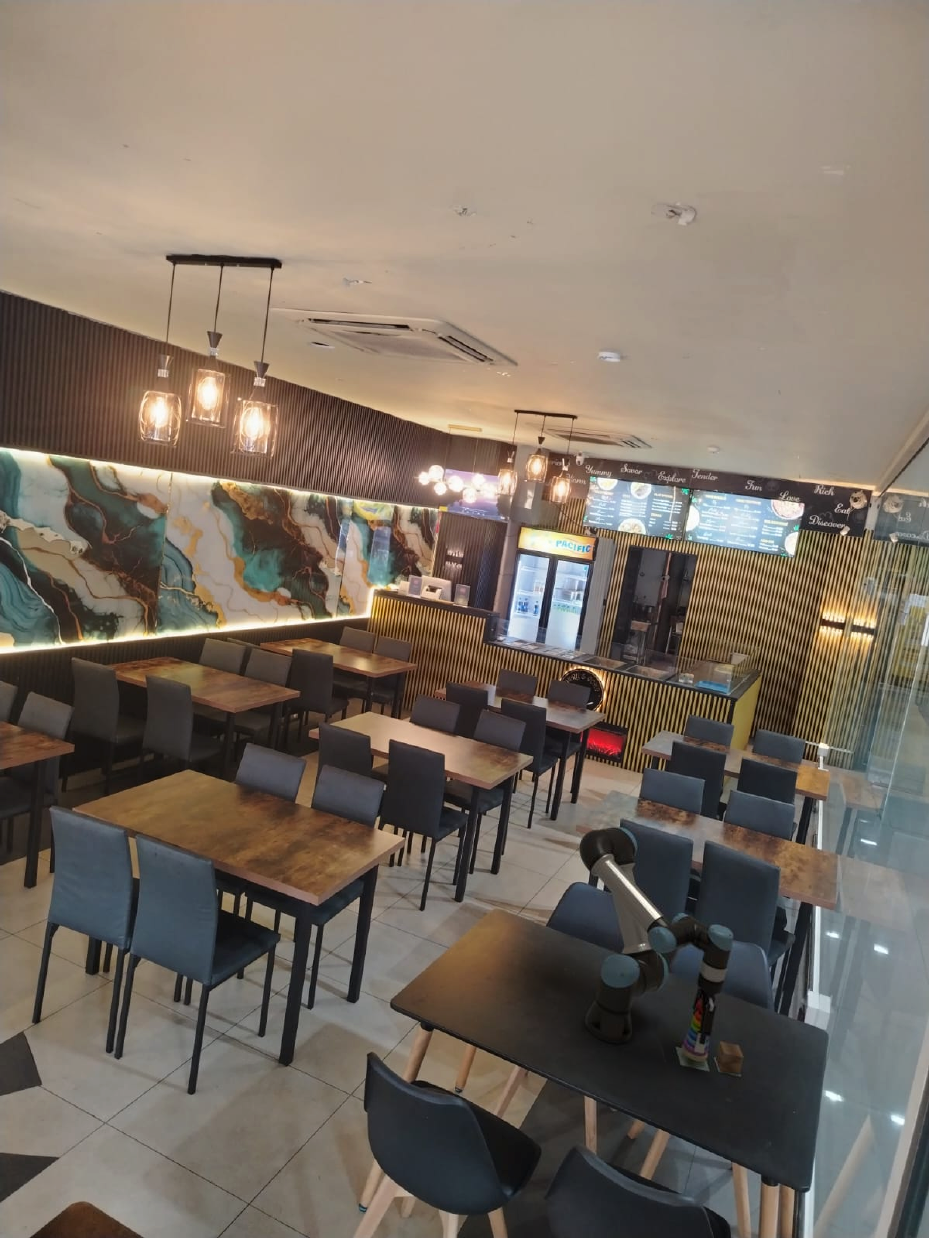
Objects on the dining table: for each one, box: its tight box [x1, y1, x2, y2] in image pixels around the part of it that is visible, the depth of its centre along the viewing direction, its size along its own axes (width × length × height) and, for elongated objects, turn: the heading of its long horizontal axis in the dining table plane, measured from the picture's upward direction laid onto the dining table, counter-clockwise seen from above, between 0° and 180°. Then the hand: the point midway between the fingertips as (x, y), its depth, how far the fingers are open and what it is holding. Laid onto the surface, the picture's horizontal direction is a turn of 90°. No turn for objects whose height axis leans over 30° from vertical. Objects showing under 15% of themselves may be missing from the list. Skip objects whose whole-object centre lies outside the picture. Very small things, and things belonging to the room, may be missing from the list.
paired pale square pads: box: [675, 1046, 742, 1078], centre depth 252 cm, size 24×16×1 cm, turn 85°
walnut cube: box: [715, 1040, 744, 1075], centre depth 251 cm, size 6×6×6 cm
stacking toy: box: [681, 998, 711, 1061], centre depth 251 cm, size 8×8×19 cm
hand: (696, 1043), depth 252 cm, fingers closed on stacking toy, 7 cm apart
